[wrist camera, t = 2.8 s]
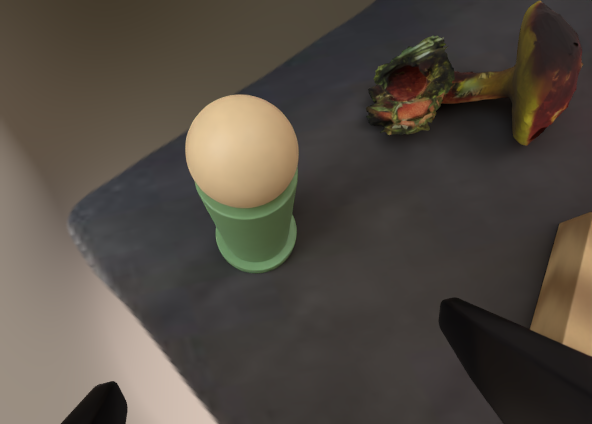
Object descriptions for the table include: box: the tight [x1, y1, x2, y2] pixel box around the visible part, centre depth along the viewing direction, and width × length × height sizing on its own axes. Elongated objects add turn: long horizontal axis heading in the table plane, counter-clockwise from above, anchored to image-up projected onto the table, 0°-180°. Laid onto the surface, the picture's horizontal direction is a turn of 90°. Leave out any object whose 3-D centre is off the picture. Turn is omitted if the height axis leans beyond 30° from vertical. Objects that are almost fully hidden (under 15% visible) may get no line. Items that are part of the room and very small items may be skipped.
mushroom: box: [366, 1, 583, 145], centre depth 27 cm, size 12×12×15 cm
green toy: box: [185, 95, 299, 273], centre depth 17 cm, size 6×6×14 cm
